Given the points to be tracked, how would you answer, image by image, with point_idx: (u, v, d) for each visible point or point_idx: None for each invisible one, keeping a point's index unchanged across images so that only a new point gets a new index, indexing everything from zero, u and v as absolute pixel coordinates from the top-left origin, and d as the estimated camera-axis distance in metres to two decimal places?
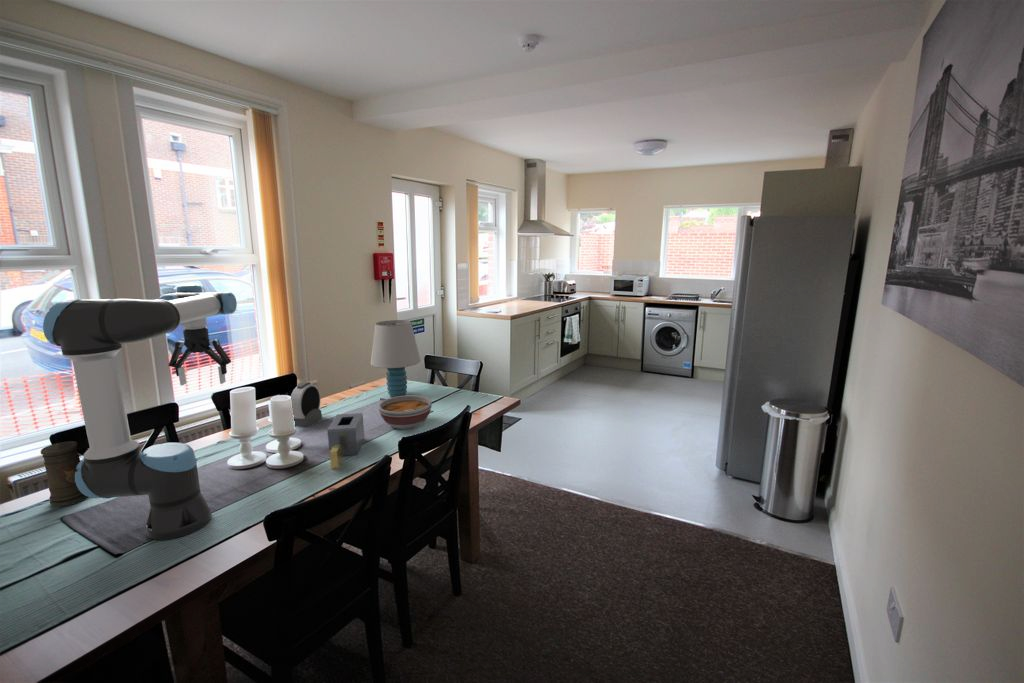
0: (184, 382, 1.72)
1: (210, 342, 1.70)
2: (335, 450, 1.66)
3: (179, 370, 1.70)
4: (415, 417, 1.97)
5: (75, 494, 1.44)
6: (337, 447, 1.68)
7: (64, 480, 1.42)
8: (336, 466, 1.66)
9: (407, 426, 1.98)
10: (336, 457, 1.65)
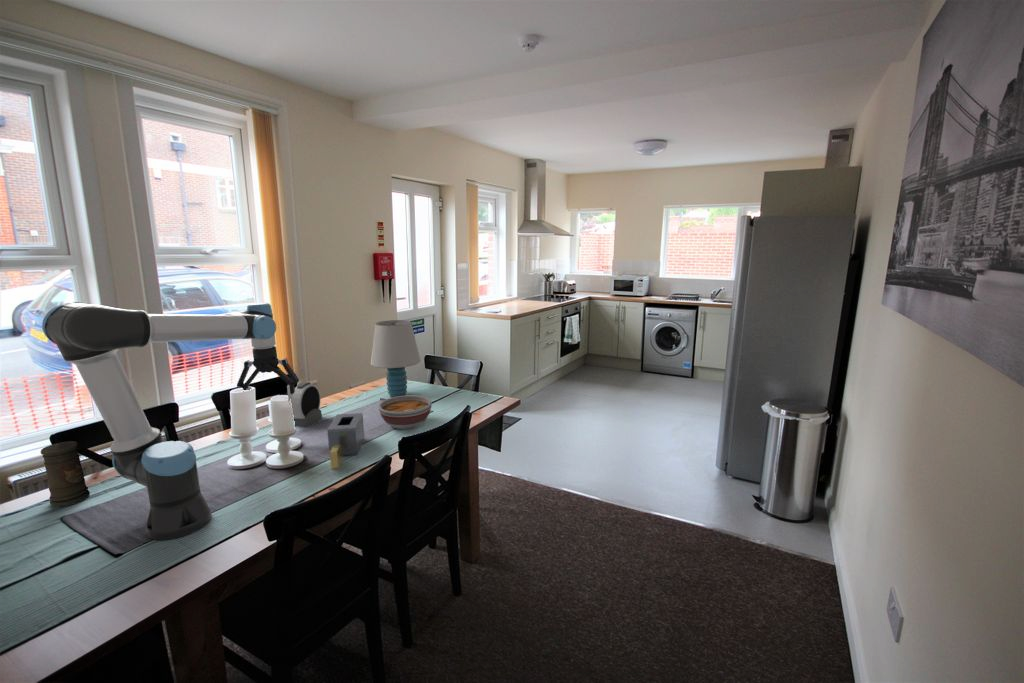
0: None
1: (279, 361, 1.67)
2: (335, 450, 1.66)
3: None
4: (415, 417, 1.97)
5: (75, 494, 1.44)
6: (337, 447, 1.68)
7: (64, 480, 1.42)
8: (336, 466, 1.66)
9: (407, 426, 1.98)
10: (336, 457, 1.65)
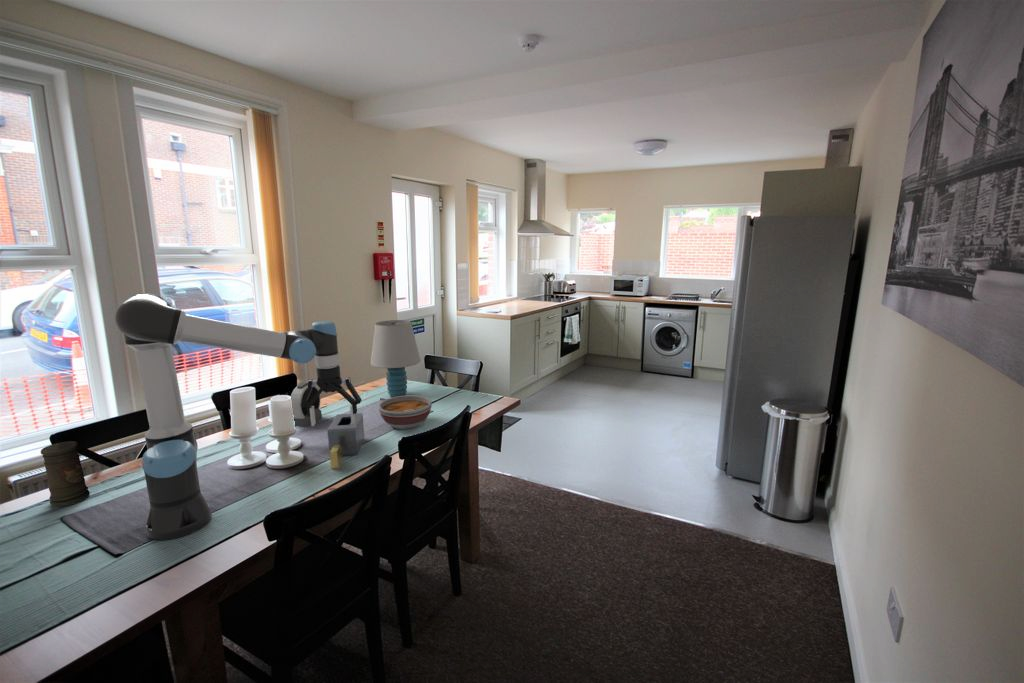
0: (314, 422, 1.65)
1: (343, 381, 1.63)
2: (335, 450, 1.66)
3: (311, 410, 1.62)
4: (415, 417, 1.97)
5: (75, 494, 1.44)
6: (337, 447, 1.68)
7: (64, 480, 1.42)
8: (336, 466, 1.66)
9: (407, 426, 1.98)
10: (336, 457, 1.65)
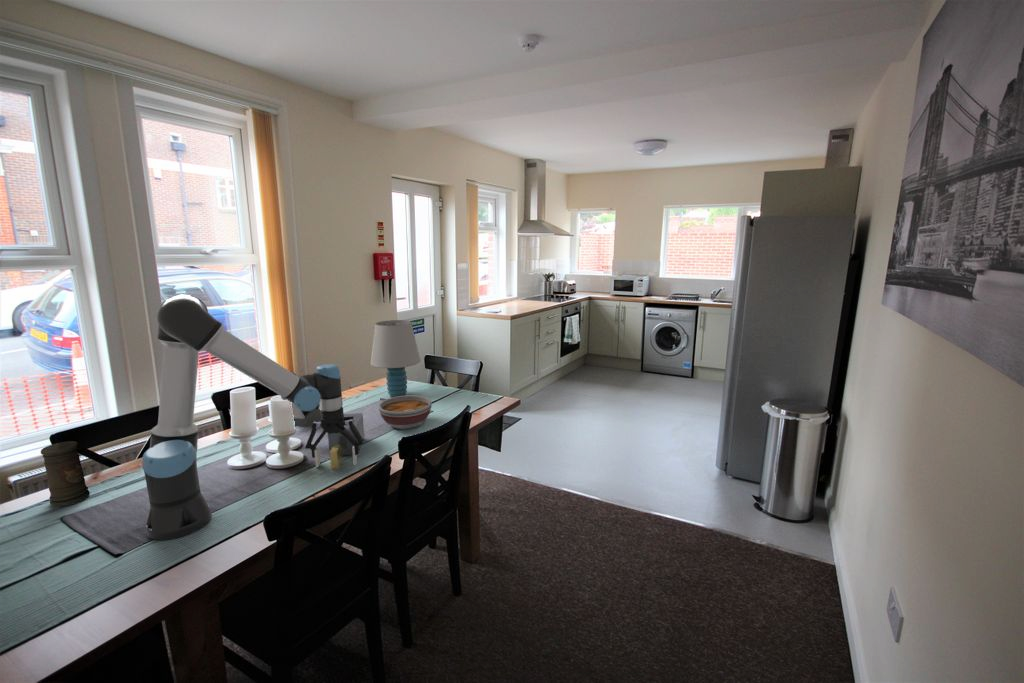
0: (319, 463, 1.68)
1: (346, 422, 1.66)
2: (335, 450, 1.66)
3: (315, 452, 1.65)
4: (415, 417, 1.97)
5: (75, 494, 1.44)
6: (337, 447, 1.68)
7: (64, 480, 1.42)
8: (336, 466, 1.66)
9: (407, 426, 1.98)
10: (336, 457, 1.65)
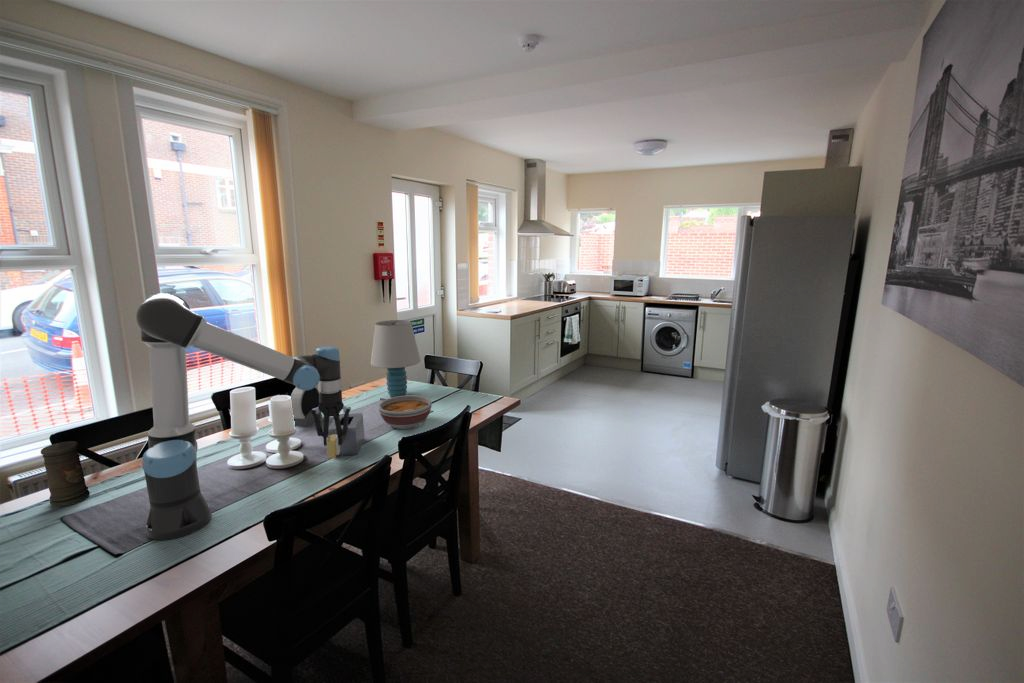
0: None
1: (343, 408, 1.65)
2: (333, 440, 1.65)
3: (327, 440, 1.65)
4: (415, 417, 1.97)
5: (75, 494, 1.44)
6: (335, 437, 1.67)
7: (64, 480, 1.42)
8: (333, 456, 1.65)
9: (407, 426, 1.98)
10: (333, 447, 1.64)
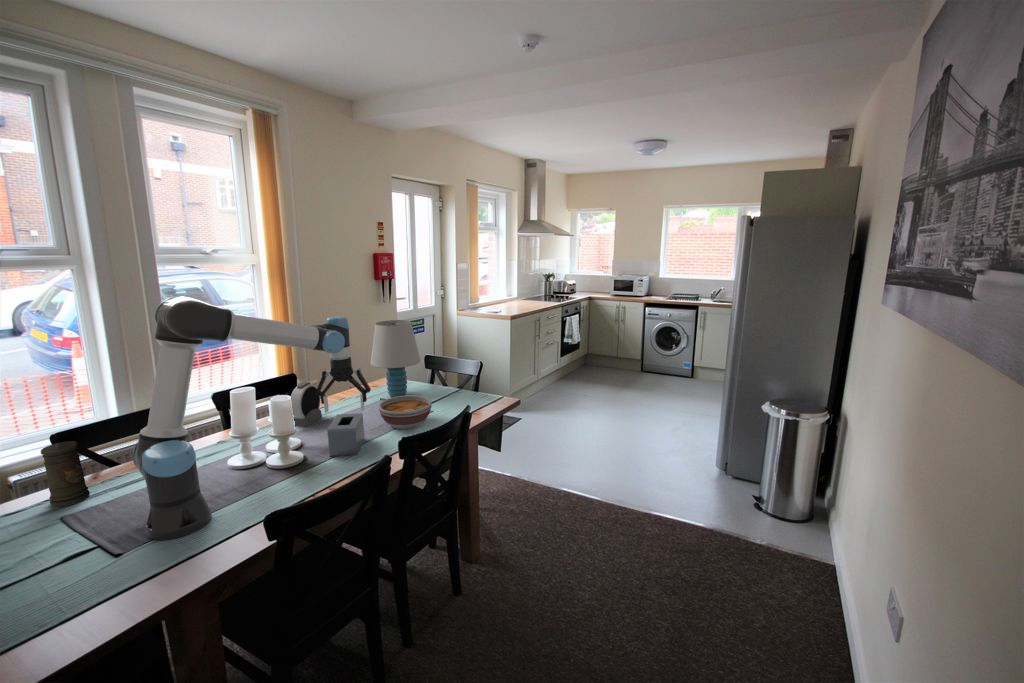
0: (327, 409, 1.80)
1: (354, 371, 1.78)
2: None
3: (324, 398, 1.77)
4: (415, 417, 1.97)
5: (75, 494, 1.44)
6: None
7: (64, 480, 1.42)
8: None
9: (407, 426, 1.98)
10: None
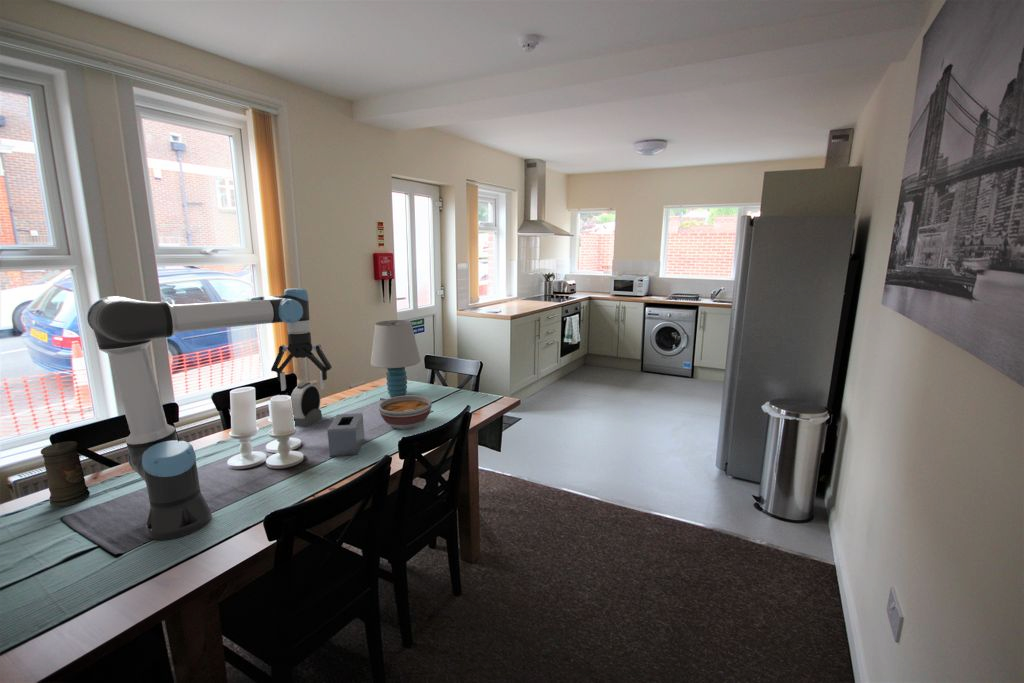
0: (284, 387, 1.69)
1: (313, 347, 1.67)
2: None
3: (281, 375, 1.67)
4: (415, 417, 1.97)
5: (75, 494, 1.44)
6: None
7: (64, 480, 1.42)
8: None
9: (407, 426, 1.98)
10: None
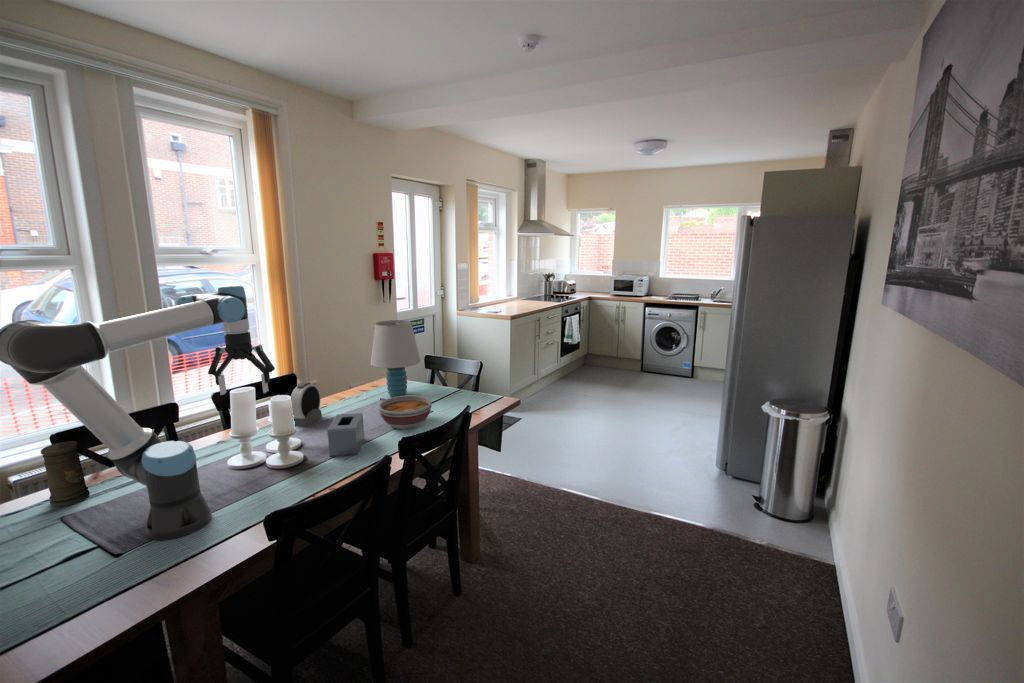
0: (224, 391, 1.58)
1: (253, 348, 1.56)
2: None
3: (219, 378, 1.56)
4: (415, 417, 1.97)
5: (75, 494, 1.44)
6: None
7: (64, 480, 1.42)
8: None
9: (407, 426, 1.98)
10: None
